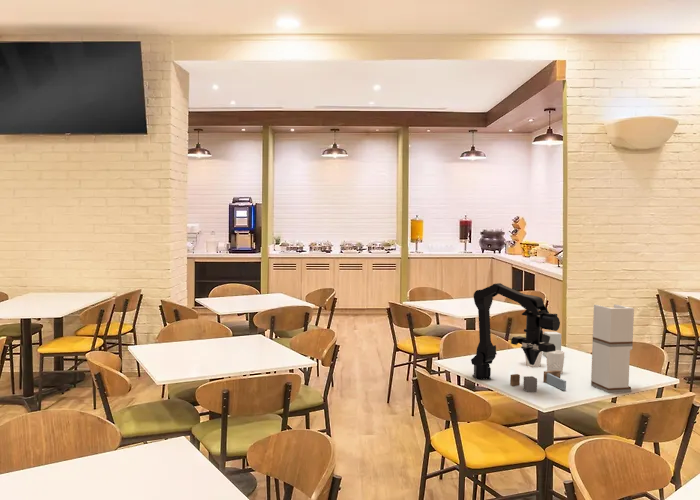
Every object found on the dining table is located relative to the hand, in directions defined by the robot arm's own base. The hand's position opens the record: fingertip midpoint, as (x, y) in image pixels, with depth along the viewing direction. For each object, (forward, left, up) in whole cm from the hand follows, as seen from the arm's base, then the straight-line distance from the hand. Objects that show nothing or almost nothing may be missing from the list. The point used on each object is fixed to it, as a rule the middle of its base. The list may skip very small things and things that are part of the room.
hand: (531, 364), depth 238 cm
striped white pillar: (+35, 0, -11) cm, 37 cm away
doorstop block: (-1, 0, -11) cm, 11 cm away
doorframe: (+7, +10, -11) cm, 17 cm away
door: (+14, +4, -11) cm, 18 cm away
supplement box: (+39, +59, -11) cm, 72 cm away
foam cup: (+20, +41, -11) cm, 47 cm away
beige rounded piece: (+24, +27, -11) cm, 38 cm away
